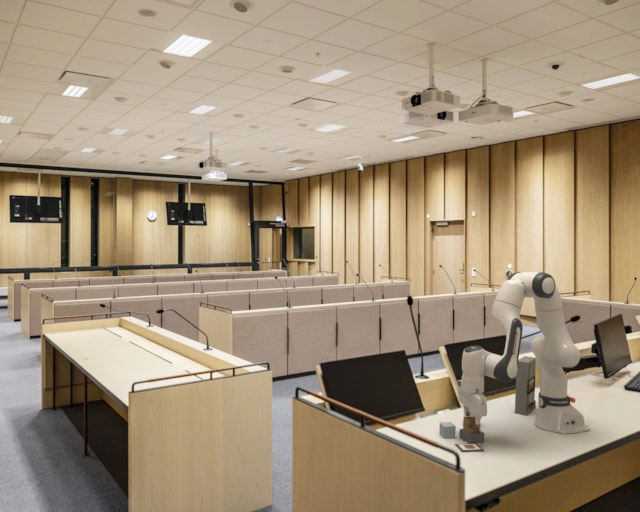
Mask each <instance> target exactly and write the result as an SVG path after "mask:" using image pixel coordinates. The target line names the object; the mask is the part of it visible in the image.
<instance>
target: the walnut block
mask: <svg viewBox="0 0 640 512" xmlns="http://www.w3.org/2000/svg"><path fill="white" fill-rule="evenodd" d="M475 418H476V417H464V416H463V418H462V419H463V422H462V423H463V424H462V426H463V427H462V429H464V430H465V431H466V432H467V433H480V431H481V423H480V424H479V425H477V424H475V423H474V419H475Z"/></svg>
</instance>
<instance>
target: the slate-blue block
mask: <svg viewBox="0 0 640 512" xmlns="http://www.w3.org/2000/svg"><path fill="white" fill-rule="evenodd" d="M456 427H457V425H455V424H454V423H453V422H451V421H446V422H445V421H442V422H439V435H440V437H442V438H443V439H456V435H457V434H456V432H457V431H456V429H457V428H456Z"/></svg>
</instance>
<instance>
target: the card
mask: <svg viewBox="0 0 640 512" xmlns="http://www.w3.org/2000/svg"><path fill="white" fill-rule="evenodd" d="M454 446H456V448H457V449H458V450H459V451H460V452H461V453H471V452H472V453H473V452H474V453H476V452H484V451H485V450H484V449H483V448H482V447H481V446H480V445H479V443H454Z"/></svg>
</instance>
